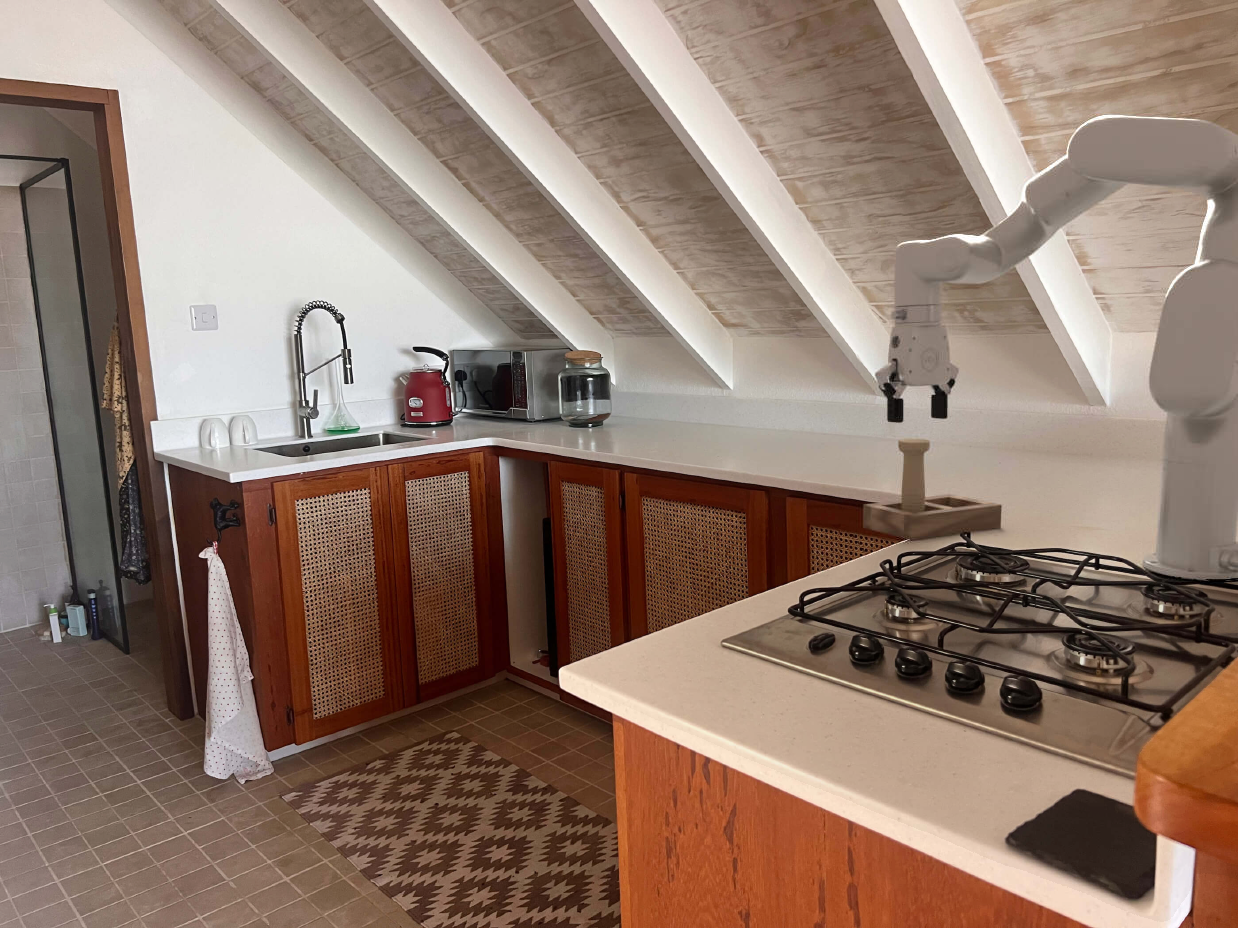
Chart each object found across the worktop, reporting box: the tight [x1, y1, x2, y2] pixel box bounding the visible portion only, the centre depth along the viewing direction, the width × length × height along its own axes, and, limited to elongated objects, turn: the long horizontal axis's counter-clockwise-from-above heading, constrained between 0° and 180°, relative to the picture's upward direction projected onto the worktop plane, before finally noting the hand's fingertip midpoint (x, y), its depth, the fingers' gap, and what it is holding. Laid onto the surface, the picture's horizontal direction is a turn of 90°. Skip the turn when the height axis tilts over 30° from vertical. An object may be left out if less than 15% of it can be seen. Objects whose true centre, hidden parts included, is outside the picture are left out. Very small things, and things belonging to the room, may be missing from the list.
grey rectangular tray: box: [862, 493, 1002, 541], centre depth 166 cm, size 12×20×4 cm, turn 116°
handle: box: [897, 438, 931, 513], centre depth 163 cm, size 5×6×15 cm
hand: (917, 420), depth 161 cm, fingers open, 9 cm apart
